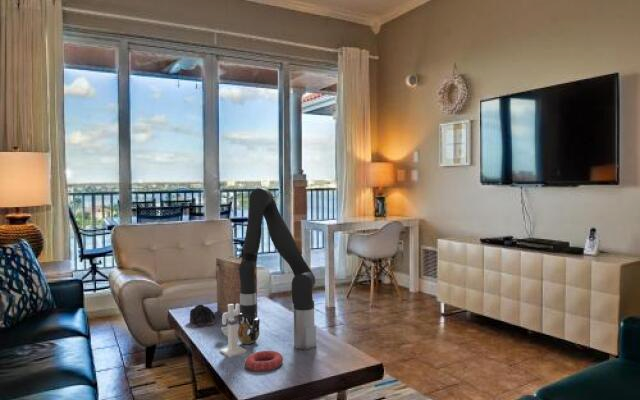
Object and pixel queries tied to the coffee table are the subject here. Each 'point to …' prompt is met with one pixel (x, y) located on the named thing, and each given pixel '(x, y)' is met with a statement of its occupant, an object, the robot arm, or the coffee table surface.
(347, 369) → the coffee table surface
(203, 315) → the black rough rounded lump
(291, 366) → the coffee table surface
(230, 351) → the post
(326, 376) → the coffee table surface
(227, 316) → the figurine
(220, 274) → the brown wooden box
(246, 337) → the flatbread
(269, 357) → the torus
